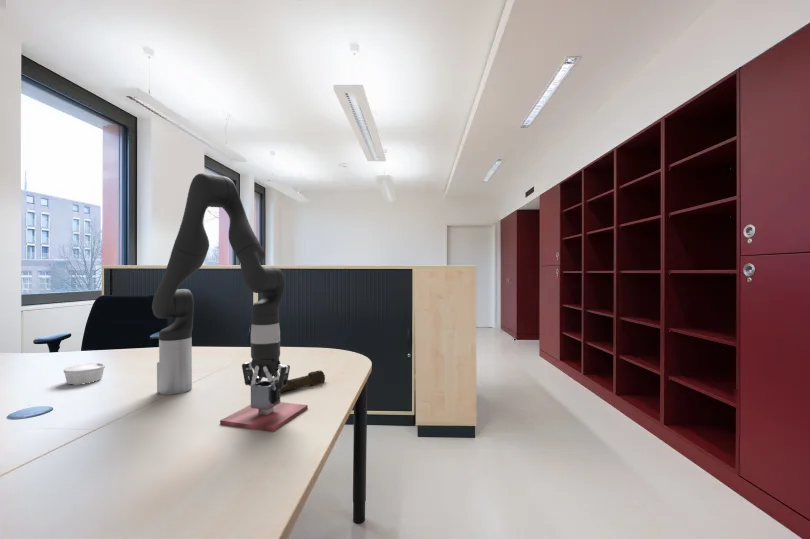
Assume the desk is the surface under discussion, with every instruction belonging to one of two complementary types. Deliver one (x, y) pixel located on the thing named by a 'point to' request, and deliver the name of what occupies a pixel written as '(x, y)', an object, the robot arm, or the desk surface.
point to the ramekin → (84, 373)
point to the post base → (264, 416)
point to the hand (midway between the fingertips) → (265, 401)
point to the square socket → (262, 395)
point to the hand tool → (305, 381)
